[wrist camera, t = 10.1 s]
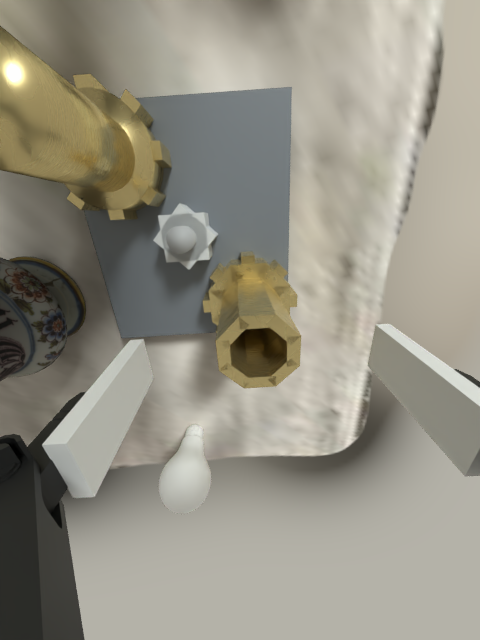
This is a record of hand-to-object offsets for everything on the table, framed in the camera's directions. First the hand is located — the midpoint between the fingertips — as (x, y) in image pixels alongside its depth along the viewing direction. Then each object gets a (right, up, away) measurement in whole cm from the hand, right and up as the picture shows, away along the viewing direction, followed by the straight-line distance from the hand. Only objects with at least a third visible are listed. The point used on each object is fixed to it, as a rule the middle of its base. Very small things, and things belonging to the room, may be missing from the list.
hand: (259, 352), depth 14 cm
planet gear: (0, +5, +12) cm, 12 cm away
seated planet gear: (-12, +15, +7) cm, 20 cm away
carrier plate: (-6, +11, +11) cm, 16 cm away
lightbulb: (-8, -14, +22) cm, 27 cm away
